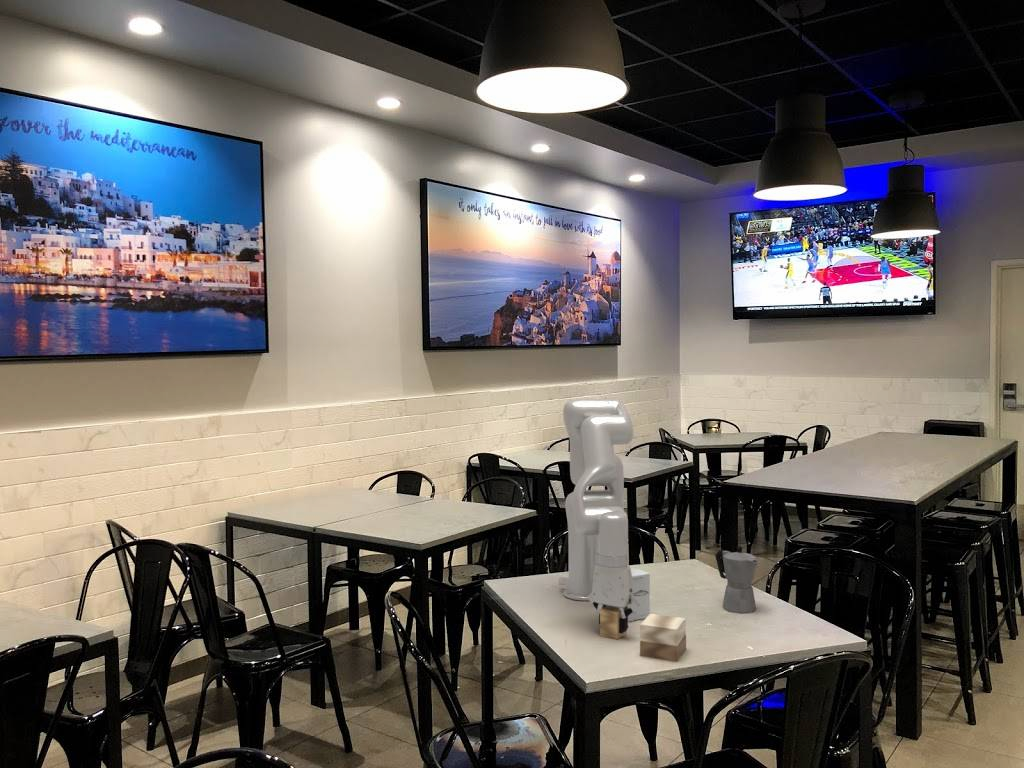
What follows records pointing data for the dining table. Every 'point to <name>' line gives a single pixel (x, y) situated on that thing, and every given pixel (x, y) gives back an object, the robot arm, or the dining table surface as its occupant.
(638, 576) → the supplement box
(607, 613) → the oak block
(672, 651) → the walnut slab
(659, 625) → the maple slab
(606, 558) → the robot arm
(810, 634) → the dining table surface
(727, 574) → the coffeepot
